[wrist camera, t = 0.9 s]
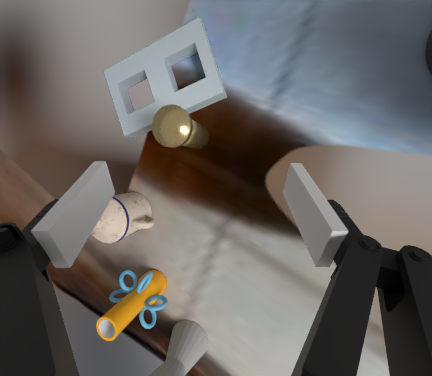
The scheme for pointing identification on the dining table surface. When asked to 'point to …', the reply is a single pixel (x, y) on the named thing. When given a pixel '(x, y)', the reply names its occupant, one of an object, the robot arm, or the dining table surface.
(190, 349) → the lava lamp
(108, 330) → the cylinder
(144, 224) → the teacup with lid
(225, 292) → the dining table surface
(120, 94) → the jig plate
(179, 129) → the brass sleeve
